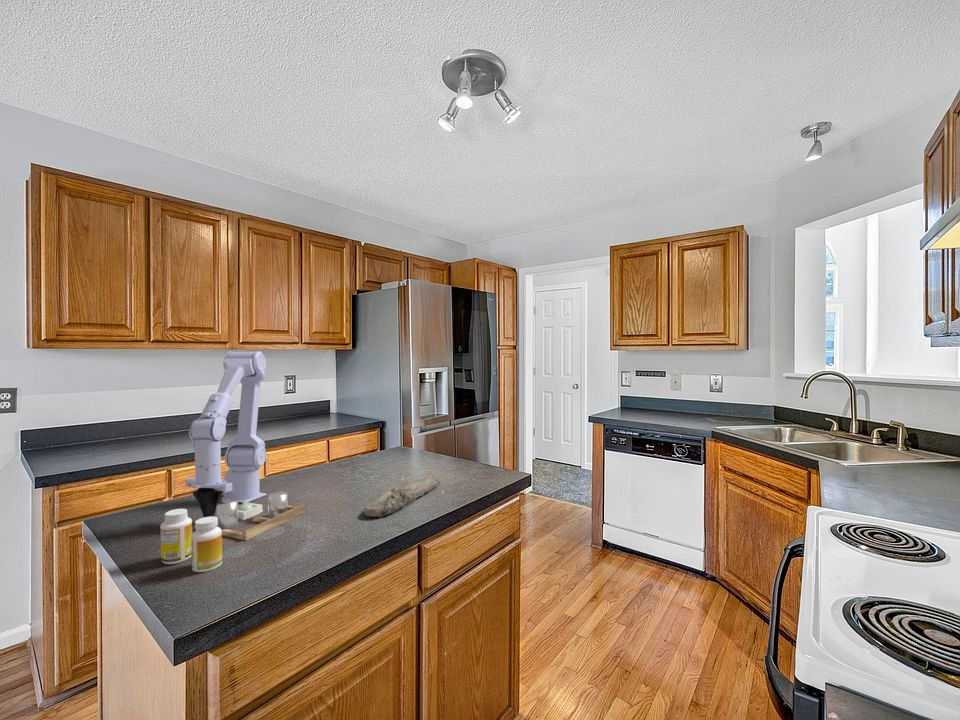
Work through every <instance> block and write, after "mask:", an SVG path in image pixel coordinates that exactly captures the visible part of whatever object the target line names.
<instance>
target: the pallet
mask: <svg viewBox="0 0 960 720" xmlns="http://www.w3.org/2000/svg"><path fill="white" fill-rule="evenodd" d="M305 506H306V505H305V504H300V505H298V506H295V505H289V504H288V511H287V512H285V513H282V514H280V515H278V516H276V517H273V518H268V517H265V516H259V515H255V516H252V522H253V523H258V524H256V525H253V526H252V527H249V528H247V529H245V530H243V531H239V530H232V529H221V530H222V537H228V538H232V539H237V540H241V541H242V540H243V541H249V539H252V538H254V537H256V536H259V535H260V534H262V533H265V532H267V531H268V530H271V529H273V528H275V527H277V526H279V525H281V524H283V523H286V522H287V521H290V520H292V519H294V518H296V517H298V516H301V515H303V514H304V513H306V507H305Z"/></svg>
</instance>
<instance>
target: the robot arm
mask: <svg viewBox="0 0 960 720" xmlns="http://www.w3.org/2000/svg"><path fill="white" fill-rule="evenodd" d="M222 362H223V363H222V365H223V370H224V373H223V375H222V378H221V381H220V383H219V387H218V389H217V392H216V393H213V394H211V395H210V396H209V398H208V400H207V402H206V404H205V406H204V408H203V410H202V412H201V413H200V416H199V417H198V418H196V419H195V420H193V421H192V422H191V424H190V427H189V430H188V436H189V438H190V440H191V446H192V448H193V449H194V471H195V472H194V473H195V475H194V476H195V477H188V478H186V479H185V487H187V488H190V487H191V489H196V490H193V491H192V495H193V497H194V498H195V500H196V501H197V502H198V505H199V507H200V510H201V514H202V518H204V517H215V515H216V503H217V502H219V501H220V498H221V501H222V500H226V499H237V500H238V503H239V504H240V503H241V504H243V503H246V502H248V503H251V502H252V501H254V500H258V499H260V498H263V497H265V496H267V493H264V492H260V485H261V484H260V468H261V467H262V466H263V465H264V463H265V462H266V457H267V453H266V443H265V441H264V440H263V439H261V438H260V437H259V436H257V427H258V418H259V417H258V415H259V405H260V403H259V402H260V392H261V385H262V382H261V381H263V380H265V377H266V370H267V369H266V367H267V366H266V365H267V360H266V357H265V355H264V353H262V351H260V350H259V351H233V350H231V351H228V352H226V354H225V356H224V359H223V361H222ZM240 384H241V391H240V400H239V401H240V403H239V412H238V422H237V423H238V424H237V435H236V436H235V437H234V438H232V439H231V440H229V442H228V443H227V449H226V451H225V454H224V463H225V465H226V467H227V468H229V469H228V470H227V471H226V472H225V474H224V477H223V479H222V456H221V455H222V453H221V452H222V449H221V448H222V447H221V445H222V443H221V440H222V439H223V437H224V435H225V433H226V429H227V427H226V426H227V422H228V421H227V417H228V414H229V412H230V410H231V408H232V405H233V404H234V403H233V399H232V398H231V397H232V395H233V394H234V392H235V390H236V389H237V387H238V385H240ZM223 494H224V495H223ZM222 495H223V496H224V497H221V496H222Z"/></svg>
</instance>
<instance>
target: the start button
mask: <svg viewBox="0 0 960 720" xmlns="http://www.w3.org/2000/svg"><path fill="white" fill-rule="evenodd" d="M251 503H252V502H248V503H245V504H243V503H241V505H240V504H238V510H240V511H246V510H249V509H251V508H253V504H251Z"/></svg>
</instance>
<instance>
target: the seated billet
mask: <svg viewBox="0 0 960 720" xmlns="http://www.w3.org/2000/svg"><path fill="white" fill-rule="evenodd" d="M288 498H289V497H288V492H287V491H284V490H283V491H282V490H281V491H274V492H271V493H268V494H267V518H273V517H276V516H278V515H280V514H282V513H285V512H287V511H288V505H289V504H288V501H289V500H288Z"/></svg>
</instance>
